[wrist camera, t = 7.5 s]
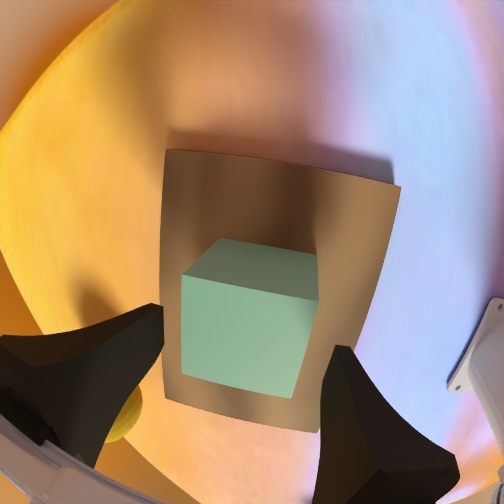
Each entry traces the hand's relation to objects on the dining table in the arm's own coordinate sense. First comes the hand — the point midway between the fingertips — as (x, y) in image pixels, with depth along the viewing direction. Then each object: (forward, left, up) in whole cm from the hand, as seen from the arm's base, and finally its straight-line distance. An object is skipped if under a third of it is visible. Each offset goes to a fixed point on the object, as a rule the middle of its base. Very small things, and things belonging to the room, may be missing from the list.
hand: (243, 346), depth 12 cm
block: (0, 0, -5) cm, 5 cm away
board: (0, +2, -6) cm, 6 cm away
